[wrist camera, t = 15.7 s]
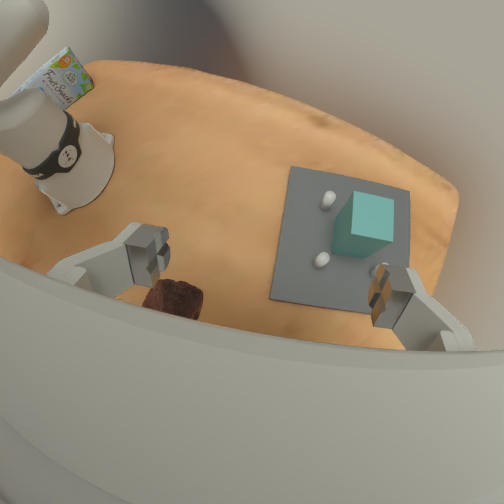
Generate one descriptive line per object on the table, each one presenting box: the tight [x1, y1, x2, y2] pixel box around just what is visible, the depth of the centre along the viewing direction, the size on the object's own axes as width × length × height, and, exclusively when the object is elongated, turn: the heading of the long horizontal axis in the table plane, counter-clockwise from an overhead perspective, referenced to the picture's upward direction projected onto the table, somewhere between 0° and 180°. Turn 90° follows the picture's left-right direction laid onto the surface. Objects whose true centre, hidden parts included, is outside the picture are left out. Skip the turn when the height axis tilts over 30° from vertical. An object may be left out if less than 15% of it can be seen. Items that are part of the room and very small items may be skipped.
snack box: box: [9, 46, 94, 111], centre depth 44 cm, size 21×6×15 cm, turn 120°
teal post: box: [331, 191, 394, 258], centre depth 32 cm, size 5×5×10 cm
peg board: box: [270, 166, 410, 314], centre depth 36 cm, size 20×20×6 cm
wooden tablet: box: [142, 279, 203, 320], centre depth 36 cm, size 26×2×10 cm
